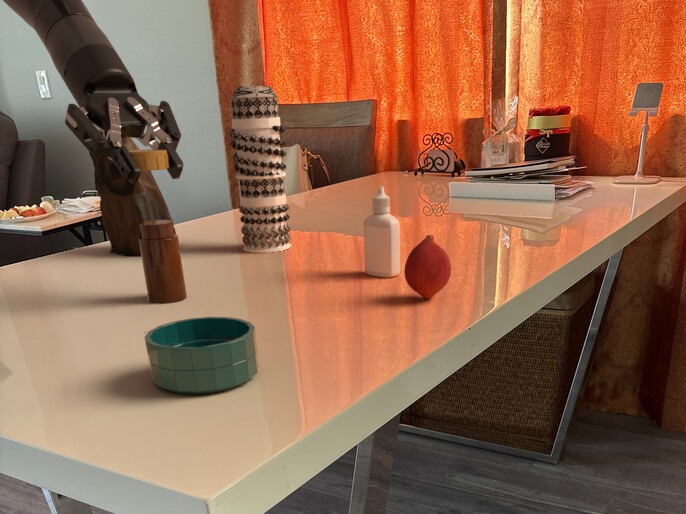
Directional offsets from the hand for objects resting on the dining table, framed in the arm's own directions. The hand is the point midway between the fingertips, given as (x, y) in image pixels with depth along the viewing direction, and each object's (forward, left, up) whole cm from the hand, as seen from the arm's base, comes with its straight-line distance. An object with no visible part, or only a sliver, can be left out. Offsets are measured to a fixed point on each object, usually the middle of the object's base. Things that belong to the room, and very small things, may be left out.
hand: (157, 175), depth 87 cm
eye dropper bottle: (+28, +11, -16) cm, 34 cm away
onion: (+33, -4, -16) cm, 37 cm away
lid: (-2, +2, +2) cm, 3 cm away
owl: (-13, +38, -16) cm, 43 cm away
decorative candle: (+9, +35, -16) cm, 40 cm away
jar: (-2, +2, -15) cm, 16 cm away
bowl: (+9, -30, -15) cm, 35 cm away
